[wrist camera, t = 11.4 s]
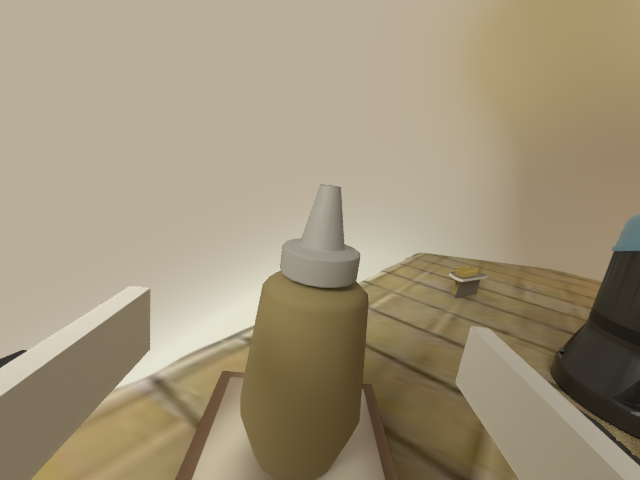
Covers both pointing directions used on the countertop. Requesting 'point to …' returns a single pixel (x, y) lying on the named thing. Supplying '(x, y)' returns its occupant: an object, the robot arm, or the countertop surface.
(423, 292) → the countertop surface
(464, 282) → the platform
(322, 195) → the squeeze bottle
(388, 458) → the picture frame
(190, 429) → the countertop surface
